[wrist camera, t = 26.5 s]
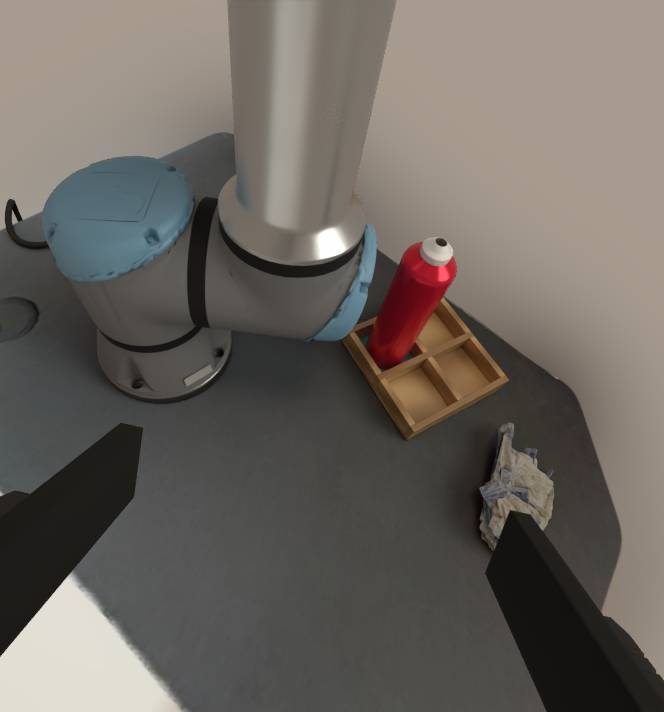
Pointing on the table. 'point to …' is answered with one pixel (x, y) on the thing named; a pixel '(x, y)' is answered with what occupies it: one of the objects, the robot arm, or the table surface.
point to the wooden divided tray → (429, 372)
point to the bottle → (411, 300)
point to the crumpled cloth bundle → (514, 488)
